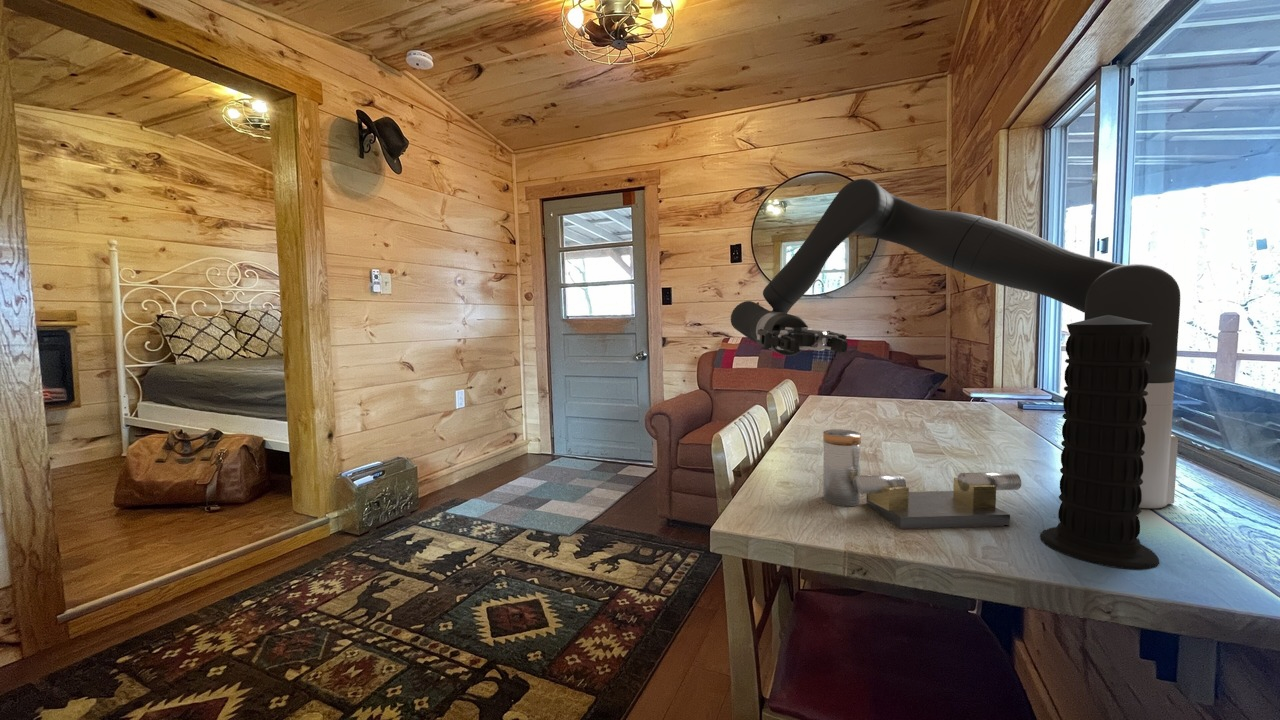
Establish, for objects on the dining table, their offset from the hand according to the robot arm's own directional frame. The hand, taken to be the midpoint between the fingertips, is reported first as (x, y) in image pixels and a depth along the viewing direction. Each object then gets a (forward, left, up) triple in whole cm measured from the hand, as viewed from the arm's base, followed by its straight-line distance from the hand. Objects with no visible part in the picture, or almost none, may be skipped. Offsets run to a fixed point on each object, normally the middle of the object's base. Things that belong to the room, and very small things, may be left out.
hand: (818, 346), depth 80 cm
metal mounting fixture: (-10, +14, -22) cm, 28 cm away
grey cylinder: (0, +8, -22) cm, 24 cm away
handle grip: (-22, +25, -22) cm, 40 cm away
